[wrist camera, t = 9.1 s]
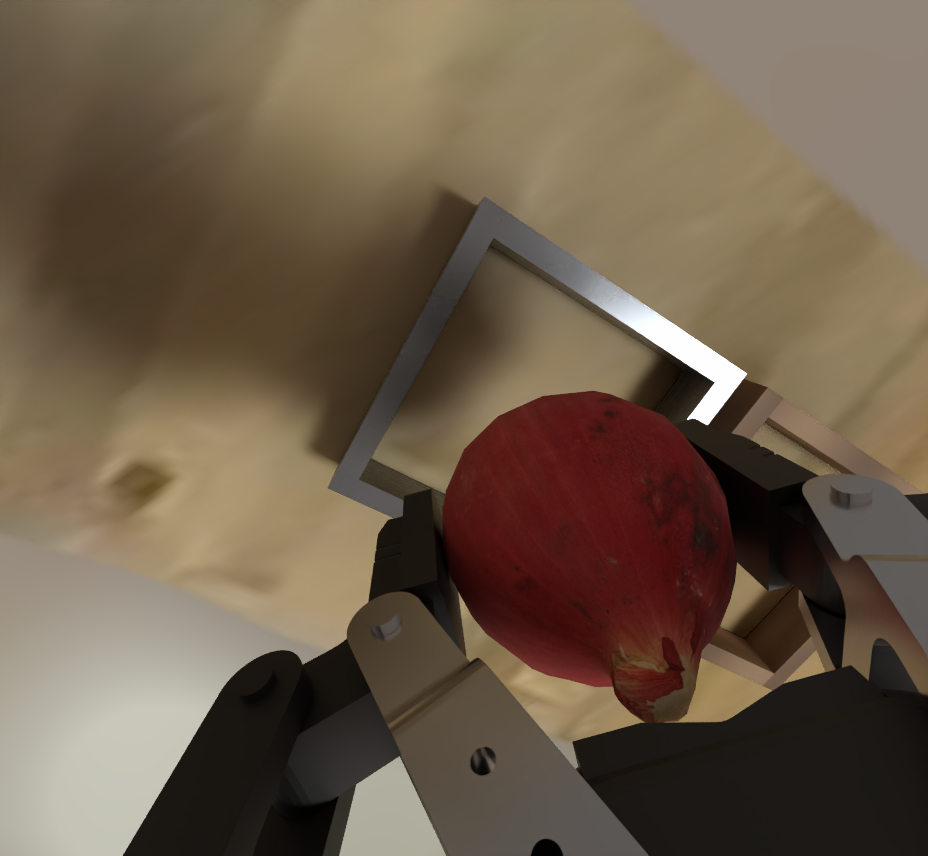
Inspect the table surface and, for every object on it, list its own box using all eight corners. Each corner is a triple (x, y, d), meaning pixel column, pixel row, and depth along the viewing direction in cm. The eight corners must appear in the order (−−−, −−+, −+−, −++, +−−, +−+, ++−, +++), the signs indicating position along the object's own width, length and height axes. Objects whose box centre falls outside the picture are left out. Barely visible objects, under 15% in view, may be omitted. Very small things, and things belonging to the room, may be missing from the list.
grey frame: (338, 464, 17) (327, 488, 16) (477, 206, 15) (484, 196, 13) (558, 568, 20) (572, 599, 18) (712, 362, 17) (747, 373, 15)
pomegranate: (545, 316, 12) (762, 401, 4) (666, 452, 14) (967, 679, 6) (395, 462, 13) (365, 734, 5) (526, 571, 15) (639, 890, 7)
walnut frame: (576, 576, 20) (592, 608, 18) (731, 374, 17) (767, 387, 16) (745, 656, 23) (774, 691, 21) (903, 489, 20) (953, 512, 18)
